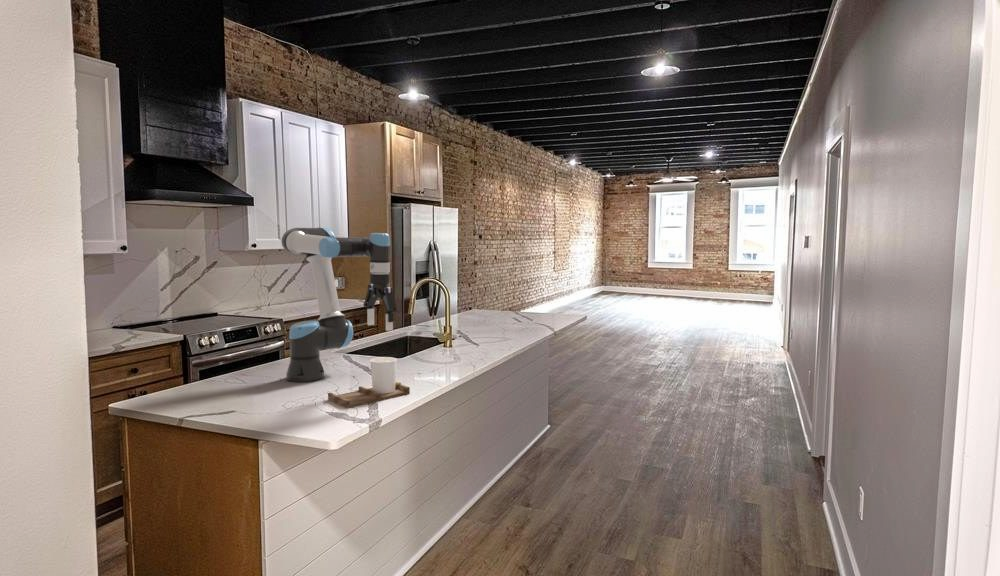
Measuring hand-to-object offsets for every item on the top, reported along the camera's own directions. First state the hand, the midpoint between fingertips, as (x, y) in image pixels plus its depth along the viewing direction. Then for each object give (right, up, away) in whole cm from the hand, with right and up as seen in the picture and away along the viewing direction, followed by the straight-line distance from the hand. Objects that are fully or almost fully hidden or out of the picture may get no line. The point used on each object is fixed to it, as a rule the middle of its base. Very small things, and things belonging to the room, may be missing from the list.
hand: (379, 327), depth 221 cm
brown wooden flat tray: (-2, -25, -10) cm, 27 cm away
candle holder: (+3, -24, -6) cm, 25 cm away
